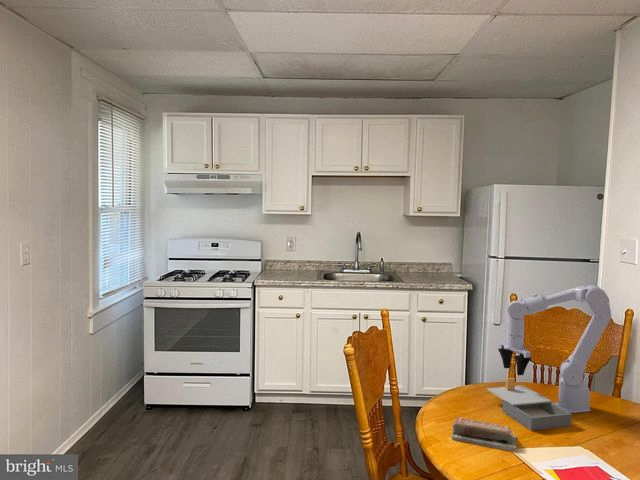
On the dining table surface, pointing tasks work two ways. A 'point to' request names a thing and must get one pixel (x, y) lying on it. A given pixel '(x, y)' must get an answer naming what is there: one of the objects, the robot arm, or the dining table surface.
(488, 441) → the packaged product
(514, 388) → the carton lid
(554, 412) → the carton
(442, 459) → the dining table surface
